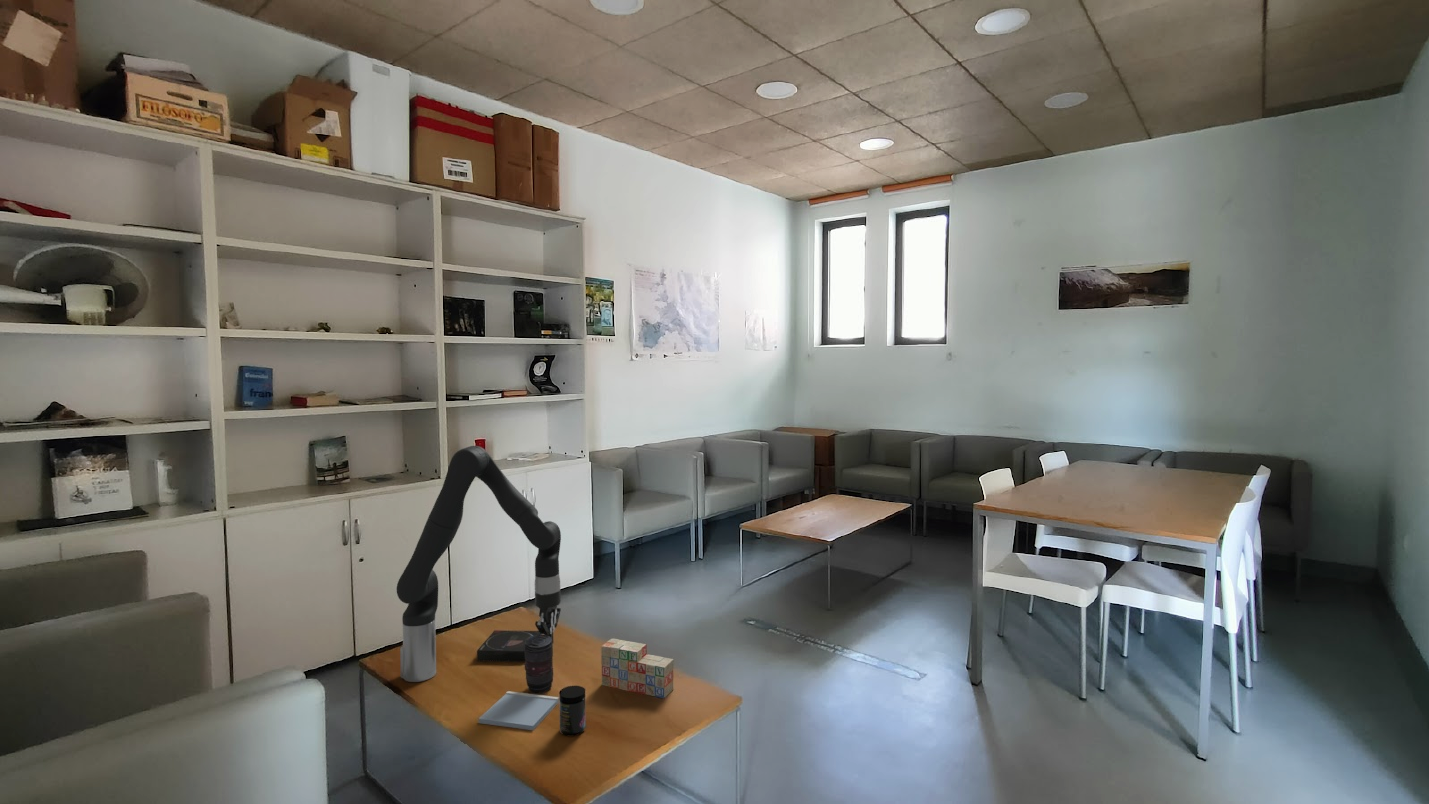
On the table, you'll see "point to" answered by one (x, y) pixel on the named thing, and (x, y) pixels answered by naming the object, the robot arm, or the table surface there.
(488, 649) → the portable cd player
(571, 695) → the supplement container
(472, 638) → the table surface
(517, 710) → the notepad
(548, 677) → the camera lens
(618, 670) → the stack of blocks
